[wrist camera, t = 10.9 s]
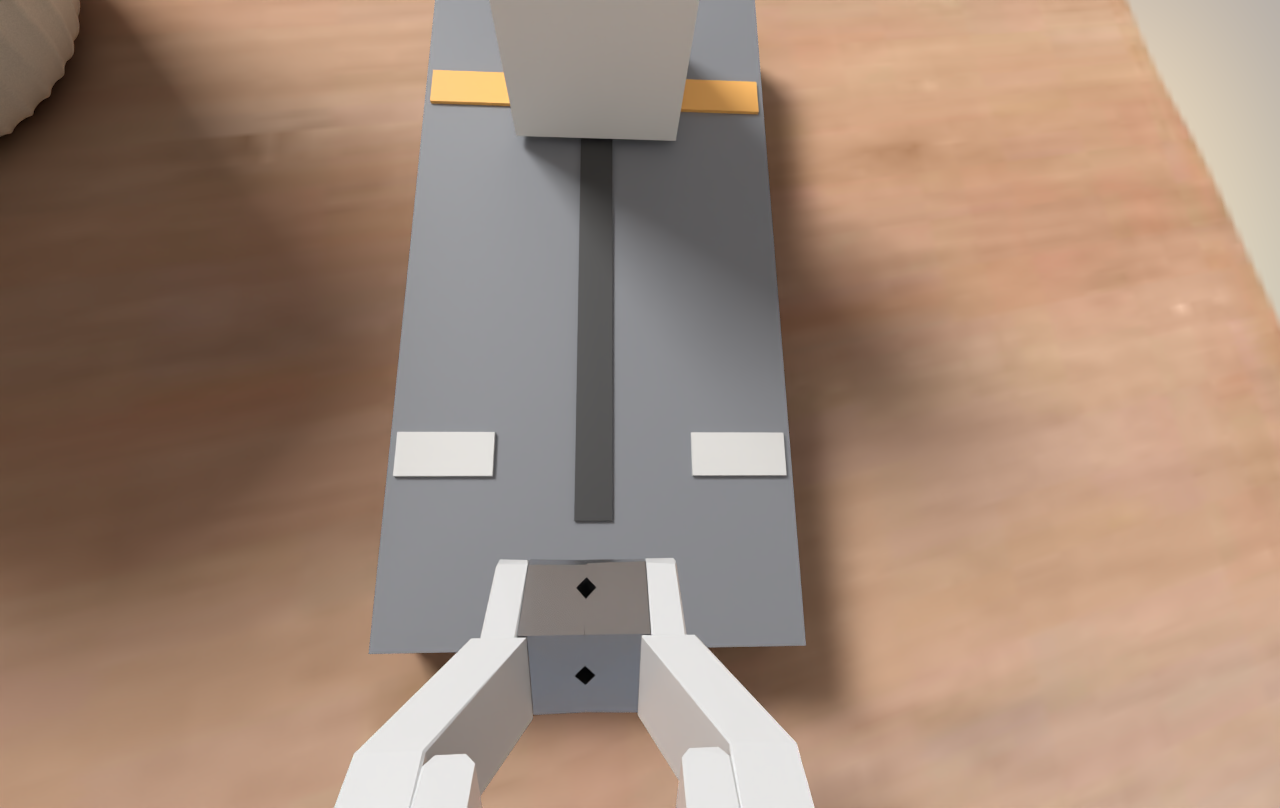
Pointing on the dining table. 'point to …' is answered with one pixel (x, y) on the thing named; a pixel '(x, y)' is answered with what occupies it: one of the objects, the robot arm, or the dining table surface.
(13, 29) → the canister
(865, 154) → the dining table surface
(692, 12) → the fader tab
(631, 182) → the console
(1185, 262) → the dining table surface
